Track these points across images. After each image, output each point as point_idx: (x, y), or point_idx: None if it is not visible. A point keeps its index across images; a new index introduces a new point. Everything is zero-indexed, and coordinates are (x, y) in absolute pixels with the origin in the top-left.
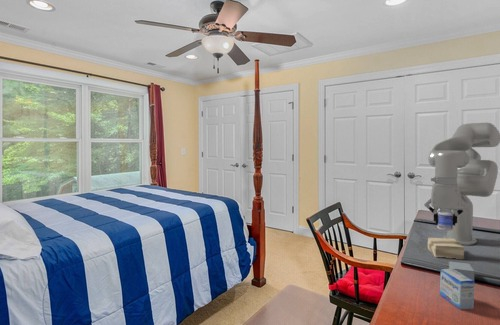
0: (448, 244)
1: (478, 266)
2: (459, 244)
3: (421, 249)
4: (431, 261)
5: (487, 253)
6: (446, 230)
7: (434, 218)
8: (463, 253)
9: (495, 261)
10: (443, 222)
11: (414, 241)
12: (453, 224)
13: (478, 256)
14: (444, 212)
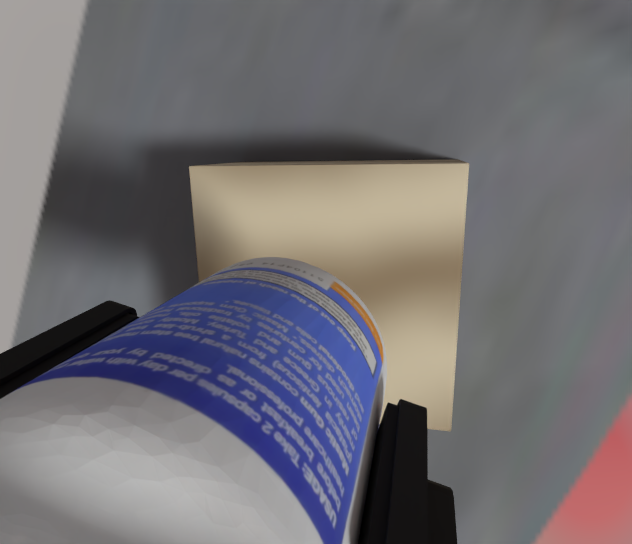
0: (312, 226)
1: (181, 25)
2: (207, 243)
3: (514, 339)
4: (540, 39)
5: (60, 310)
6: (289, 260)
7: (438, 523)
8: (222, 163)
9: (51, 165)
10: (297, 318)
11: (501, 518)
12: (129, 316)
13: (126, 244)
14: (122, 535)
